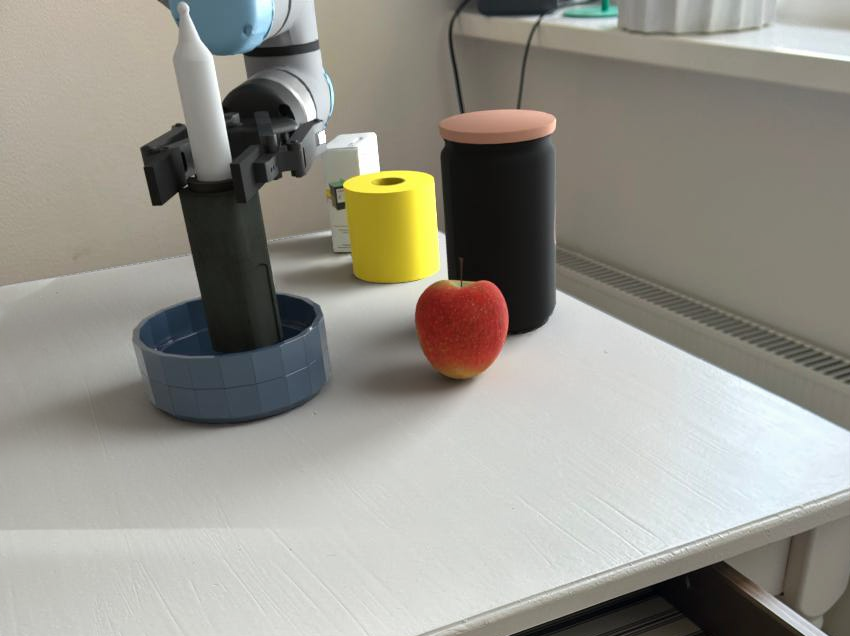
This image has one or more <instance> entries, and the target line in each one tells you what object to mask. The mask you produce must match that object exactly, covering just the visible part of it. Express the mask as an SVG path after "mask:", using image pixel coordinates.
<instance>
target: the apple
mask: <svg viewBox="0 0 850 636" xmlns="http://www.w3.org/2000/svg"><path fill="white" fill-rule="evenodd" d="M459 261H460V274H461V281H459V280H448V279H440V280H437V281H435V282H433V283H431V284H429V286H427V287H426V288H425V289H424V290H423V291H422V293H421V294H420V296H419V297H418V299H417V302H416V304H415V311H414V325H415V331H416V336H417V339H418V340H417V341H418V343H419V346H420V348H421V351H422V353H423V354H424V356H425V358H426V360H427V361H428V362H429V364H430V365H431V366H432V368H434V369H435V370H436V371H437V372H438V373H440V374H441V375H443V376H445V377H447V378H451V379H455V380H466V379H471V378H474V377H477V376H478V375H481V374H482V373H483V372H485V371H486V370H487V369H488V368H490V366H492V365H493V364H494V362H495V361H496V360H497V358H498V357H499V355H500V353H501V351H502V349H503V347H504V345H505V343H506V339H507V336H508V334H507V331H508V310H507V305H506V302H505V299H504V297H503V295H502V293H501V292H500V290H499V289H498V288H497V286H495V285H494V284H493V283H491V282H489V281H484V280H482V281H477V282H470V281H462V266H463V258H461V257H459Z"/></svg>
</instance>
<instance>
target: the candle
mask: <svg viewBox="0 0 850 636" xmlns="http://www.w3.org/2000/svg"><path fill="white" fill-rule="evenodd" d="M177 10H178V12H179V14H180V19H179V28H178V39H177V43H176V46H175V49H174V51H173V52H174V53H173V56H172V63H173V69H174V74H175V78H176V82H177V87H178V93H179V98H180V103H181V107H182V108H181V109H182V113H183V116H184V117H183V118H184V121H185V125H186V127H187V132H188V137H189V142H190V146H191V151H192V156H193V161H194V166H195V171H196V174H195V175H193V176H191V177H188V178H186V180H187V185H186V186H185V187H184V188H182V189H180V190H179V192H178V193H177V194H178V197H179V201H180V202H179V203H180V207H181V211H182V215H183V220H184V225H185V229H186V234H187V240H188V243H189V248H190V252H191V257H192V261H193V266H194V271H195V275H196V280H197V284H198V289H199V294H200V297H201V298H202V303H203V308H204V312H205V317H206V321H207V326H208V330H209V335H210V340H211V344H212V349H213V350H214V351H216V352H223V353H231V354H233V353H241V352H248V351H252V350H256V349H260V348H264V347H268V346H271V345H273V344H274V343H275V342H277V341H279V340H282V339H283V332H282V326H281V321H280V315H279V309H278V303H277V297H276V292H277V291H276V285H275V279H274V274H273V268H272V263H271V256H270V251H269V246H268V240H267V239H268V238H267V234H266V228H265V222H264V221H265V220H264V216H263V210H262V205H261V198H260V193H259V191H258V192H257V193H256V194H255V195H254V196H253V197H252V198H251V199H250V200H249V201H248V202H247V203H237V202H236V197H235V191H234V186H233V180H232V175H231V169H230V163H231V162H232V158H231V153H230V147H229V142H228V136H227V131H226V125H225V120H224V114H223V109H222V99H221V93H220V87H219V82H218V76H217V72H216V71H217V70H216V67H215V66H216V65H215V60H214V57H213V56H214V55H212V54H211V53H210V51H209V50H208V49H207V47H206V46H205V45H204V44H203V42H202V41H201V40H200V37H199V35H198V33H197V31H196V29H195V26H194V24H193V22H192V20H191V18H190V16H189V6H188V5H187V4H186V3H185V2H180V3H179V4H178V6H177Z"/></svg>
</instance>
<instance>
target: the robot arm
mask: <svg viewBox="0 0 850 636" xmlns="http://www.w3.org/2000/svg"><path fill="white" fill-rule="evenodd" d="M157 1H158V2H159V3H160V4H162V6H164V7H165V8H166V9H168V10H169V11H170V13H171V16H172V18H173V20H174V22H175V24H176V26H177V28H178V29H179V19H180V14H179V12H178V10H177V6H178V4H179V3H180V2H185V3H186V4H187V5H188V6H189V16H190V18H191V20H192V22H193V24H194V26H195V29H196V31H197V33H198V35H199V37H200V40H201V41H202V42H203V44H204V45H205V46H206V47H207V49H208V50H209V51H210V53H211V54H212V56H219V57H220V56H221V57H226V56H236V55H243V61H244V68H245V74H246V78H247V79H246V80H245V81H243V82H242V83H240V84H238V85H237V86H236V87H234V88H233V89H231V90H230V91H229V92H228V93H227V94H226V96H225V97H224V99H223V100H222V101H221V103H222V109H223V114H224V120H225V125H226V131H227V136H228V142H229V147H230V153H231V158H232V162H231V163H230V169H231V175H232V180H233V186H234V191H235V197H236V202H237V203H247V202H248V201H249V200H250V199H251V198H252V197H253V196H254V195H255V194H256V193H257V192H259V191H260V190H261V189H262V188H263V186H264V185H265V184H267V183H270V182H273V181H279V180H280V179H282V178H283V173H285V172H290V176H291V177H292V178H296V179H300V178H303V177H305V176H307V174H308V172H309V171H310V170H311V168H312V166H313V165H314V162H315V161H316V159H317V158H318V157H319V156H321V154H323V153H325V152H327V144H328V143H327V137H326V128H327V126H328V124H329V120H330V119H331V116H332V113H333V109H334V104H335V93H334V87H333V84H332V82H331V78H330V77H329V75H328V73H327V72H326V71H325V69H324V67H323V59H322V51H321V47H320V39H319V33H318V32H319V31H318V25H317V24H318V23H317V18H316V8H315V1H314V0H157ZM139 151H140V154H141V158H142V163H143V168H142V169H143V172H144V177H145V181H146V185H147V189H148V193H149V198H150V202H151V206H152V207H162V206H164V205H165V204H166V203H168V202H169V201H170V200H171V199H172V198H173V197H175V196H176V195H177V194H179V193H178V192H179V190H180V189H182V188H185V187H187V186H188V185H187V180H186V179H187V178H188V177H194V175H195V174H196V171H195V166H194V161H193V156H192V151H191V146H190V142H189V137H188V132H187V127H186V123H181V122H176V123H175V124H173V125H171V127H170V130H168V131H166V132H165V133H163V134H161V135H160V136H158V137H156V138H154V139H152V140H150V141H149V142H147V143H145V144H143V145H142V146H140V147H139Z"/></svg>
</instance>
